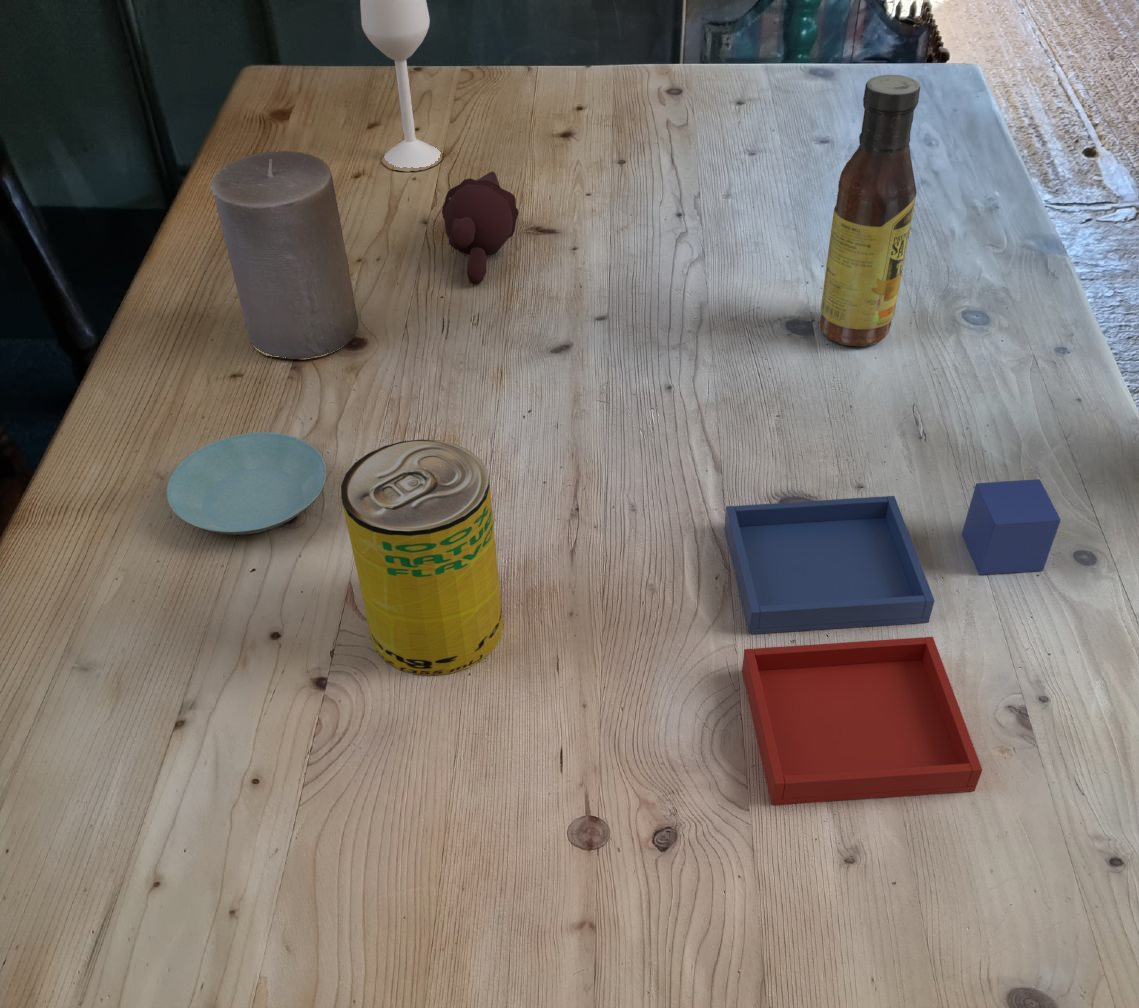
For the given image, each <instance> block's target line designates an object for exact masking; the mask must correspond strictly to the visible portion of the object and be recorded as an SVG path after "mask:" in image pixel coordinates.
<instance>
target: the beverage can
mask: <svg viewBox="0 0 1139 1008" xmlns="http://www.w3.org/2000/svg"><path fill="white" fill-rule="evenodd" d="M340 497H341V498H340V499H341V503H342V508H343V513H344V517H345V522H346V527H347V531H348V535H349V541H350V545H351V550H352V555H353V559H354V564H355V568H356V573H357V579H358V582H359V587H360V592H361V596H362V600H363V606H364V611H365V615H366V621H367V624H368V630H369V634H370V639H371V643H372V646H373V647H374V649H375V651H376V653H377V655H378V656H379V657H380V658H381V659H382V660H383V661H384V662H385V663H386V664H388V665H390V666H391V667H393V668H395V669H397V670H398V671H401V672H406V673H409V674H412V675H418V676H419V675H420V676H433V677H434V676H441V675H450V674H454V673H457V672H460V671H463V670H466V669H469V668H470V667H472V666H475V665H476V664H478V663H480V662H481V661H483V660H484V659H485V658H486V657H488V655H490V654H491V653H492V652H493V651H494V650H495V649H496V647H497V645H498V643H499V642H500V640H501V639H502V635H503V629H504V620H503V610H502V609H503V608H502V598H501V597H502V596H501V587H500V577H499V567H498V558H497V547H496V536H495V527H494V525H495V524H494V515H493V514H494V513H493V504H492V495H491V485H490V477H489V470H488V468H487V466H486V465H485V464H484V462H483V460H482V459H481V458H480V457H479V456H477V454H475V453H474V452H472V451H471V450H469V449H468V448H465V447H463V446H460V445H459V444H455V443H452V442H448V441H444V440H443V441H442V440H439V439H438V440H436V439H413V440H403V441H399V442H394V443H391V444H387V445H384V446H381V447H379V448H377V449H374V450H373V451H371V452H368V453H367V454H365V455H364V456H363V457H361V458H360V459H358V460H357V461H355V462H354V463H353V464H352V465H351V466H350V468H349V469H348V470H347V472H346V473H345V474H344V477H343V479H342V482H341V485H340Z"/></svg>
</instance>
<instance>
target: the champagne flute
mask: <svg viewBox="0 0 1139 1008" xmlns="http://www.w3.org/2000/svg"><path fill="white" fill-rule="evenodd" d="M359 2H360V5H359V6H360V21H361V28H362V31H363V33H364V35H365V37H367V39H368V40H369V42H370V43H371V44H372V45H373V46H374V47H375V48H376V49H378V50H379V52H381V53H382V54H383V55H384V56H386V57H387V58H388V59H391V60H392V61H394V66H395V74H396V75H395V76H396V82H397V89H398V91H397V92H398V98H399V106H400V114H401V122H402V131H403V138H404V139H403V140H401V141H400V142H399V143H398V144H396V145H395V146H393V147H392V148H390V149H389V150H388V151H386V152H387V153H386V152H385V153H386V154H385V153H384V154H385V156H384V158H385V160H386V161H388V163H389V164H392V165H394V167H395V166H396V167H400V168H403V167H407V168H411V167H413V168H419V167H426V166H430V165H431V164H434V163H435V161H438V158H440V154H441V152H440V151H439V150H440V149H439V148H438V149H439V150H438V149H437V147H436V148H435V146H433V145H431V144H429V143H426V142H425V141H422V140H421V139H418V138H417V137H416V129H415V123H414V122H415V121H414V114H413V106H412V97H411V89H410V88H411V87H410V80H409V79H410V78H409V72H408V63H407V60H408V59H409V58H410V57H413V55H414V53H415V52H416V51H417V50H418V48H419V47H420V45H421V44H422V43H423V42H424V39H425V38H426V36H427V33H428V31H429V28H430V23H431V22H430V21H431V20H430V19H431V18H430V13H429V8H428V3H427V0H359Z"/></svg>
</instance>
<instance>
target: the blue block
mask: <svg viewBox="0 0 1139 1008" xmlns="http://www.w3.org/2000/svg"><path fill="white" fill-rule="evenodd" d="M1060 523H1061V517H1060V516H1059V513H1058V512H1057V509H1056V508H1055V506H1054V504H1053V502H1052V500H1051V498H1050V496H1049V494H1048V492H1047V491H1046V489H1045V486H1044V484H1043V482H1042V481H1041V479H1040V478H1037V479H1022V480H1021V479H1020V480H1019V479H1018V480H1005V481H989V482H976V483H975V485H974V489H973V494H972V497H971V500H970V503H969V507H968V511H967V514H966V518H965V521H964V525H963V529H962V532H961V535H962V537H963V540H964V542H965V545H966V548H967V549H968V552H969V554H970V557H971V558H972V561H973V563H974V566H975V568H976V570H977V572H978V575H979V576H985V575H986V576H987V575H998V574H999V575H1000V574H1015V573H1032V572H1043V571H1044V569H1045V566H1046V563H1047V560H1048V557H1049V555H1050V552H1051V549H1052V546H1053V543H1054V540H1055V538H1056V535H1057V532H1058V530H1059V526H1060Z"/></svg>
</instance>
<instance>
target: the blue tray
mask: <svg viewBox="0 0 1139 1008" xmlns="http://www.w3.org/2000/svg"><path fill="white" fill-rule="evenodd" d="M907 527H908V526H907V525H906V522H905V519H904V516H903V514H902V511H901V510H900V506H899V503H898V501H897V498H896V496H895V495H884V496H869V497H868V496H867V497H855V498H854V497H853V498H838V499H822V500H808V501H807V500H806V501H792V502H774V503H760V504H759V503H758V504H745V505H744V504H743V505H742V504H741V505H726V506H725V516H724V527H723V528H724V532H725V533H724V534H725V537H726V541H727V546H728V550H729V554H730V559H731V563H732V567H733V571H734V576H735V580H736V585H737V589H738V593H739V598H740V602H741V606H742V610H743V615H744V619H745V623H746V627H747V632H748V635H759V634H773V633H788V632H789V633H791V632H803V631H804V632H805V631H818V630H832V629H833V630H834V629H849V628H862V627H881V626H892V625H893V626H896V625H907V624H908V625H910V624H922V623H923V624H924V623H926V624H927V623H929V622H930V620H931V616H932V611H933V609H934V605H935V601H936V600H935V598H934V595H933V592H932V590H931V587H930V585H929V582H928V580H927V576H926V574H925V572H924V569H923V566H922V564H921V561H920V559H919V555H918V553H917V550H916V548H915V546H914V542H913V541H912V538H911V535H910V533H909V530H908V528H907Z"/></svg>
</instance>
